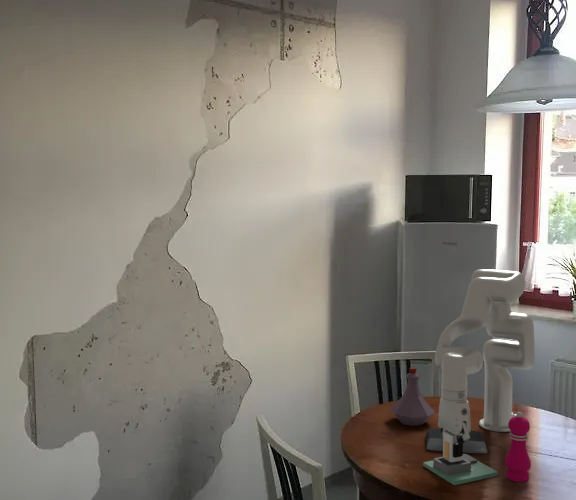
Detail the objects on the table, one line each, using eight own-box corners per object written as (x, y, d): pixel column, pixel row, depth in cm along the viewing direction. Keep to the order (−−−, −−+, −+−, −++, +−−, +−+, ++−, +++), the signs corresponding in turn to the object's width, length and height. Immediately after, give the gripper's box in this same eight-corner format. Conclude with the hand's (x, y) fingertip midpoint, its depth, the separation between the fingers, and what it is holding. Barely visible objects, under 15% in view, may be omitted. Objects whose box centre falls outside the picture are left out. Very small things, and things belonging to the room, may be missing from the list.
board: (465, 457, 214) (465, 446, 214) (497, 475, 201) (498, 463, 200) (423, 466, 208) (423, 454, 208) (454, 485, 194) (454, 473, 194)
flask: (387, 427, 242) (388, 372, 240) (391, 412, 258) (392, 361, 256) (434, 431, 238) (435, 375, 236) (435, 416, 254) (436, 363, 252)
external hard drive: (487, 455, 217) (488, 443, 217) (426, 451, 221) (426, 439, 220) (483, 440, 230) (483, 429, 230) (425, 437, 233) (425, 425, 233)
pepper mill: (500, 473, 203) (502, 408, 201) (524, 472, 203) (525, 407, 201) (510, 483, 195) (512, 416, 194) (534, 482, 196) (536, 415, 194)
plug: (453, 455, 205) (454, 429, 205) (462, 460, 202) (462, 434, 201) (441, 457, 203) (442, 432, 203) (449, 462, 200) (450, 436, 199)
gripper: (482, 400, 195) (481, 462, 196) (446, 385, 210) (445, 442, 212) (462, 403, 192) (460, 466, 193) (426, 388, 207) (425, 446, 209)
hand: (452, 453), depth 203 cm, fingers closed on plug, 4 cm apart
